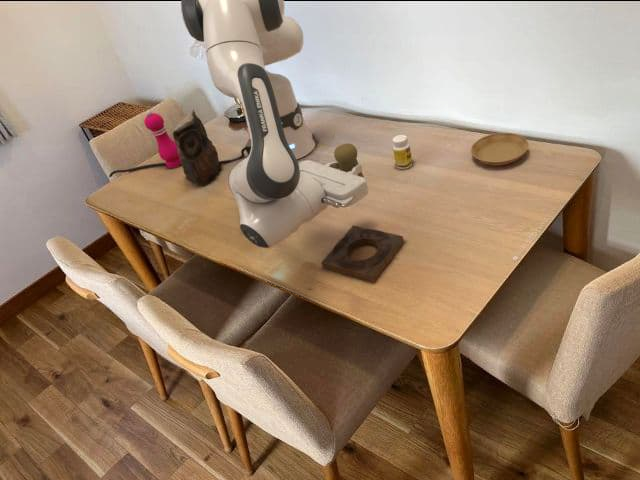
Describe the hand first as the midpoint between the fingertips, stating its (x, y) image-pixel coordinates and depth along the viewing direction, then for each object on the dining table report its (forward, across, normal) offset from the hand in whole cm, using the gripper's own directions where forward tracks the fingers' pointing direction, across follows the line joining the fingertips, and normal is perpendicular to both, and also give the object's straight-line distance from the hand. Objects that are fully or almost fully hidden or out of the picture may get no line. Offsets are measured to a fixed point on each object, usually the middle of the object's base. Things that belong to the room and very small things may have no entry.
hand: (351, 164), depth 114 cm
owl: (-6, +67, +17) cm, 70 cm away
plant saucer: (+40, -14, +17) cm, 45 cm away
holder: (-9, -8, +17) cm, 21 cm away
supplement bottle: (+25, +8, +17) cm, 32 cm away
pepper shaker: (-1, 0, +6) cm, 6 cm away
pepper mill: (-7, +86, +17) cm, 87 cm away
